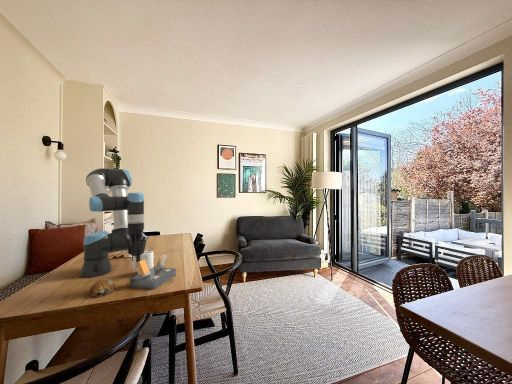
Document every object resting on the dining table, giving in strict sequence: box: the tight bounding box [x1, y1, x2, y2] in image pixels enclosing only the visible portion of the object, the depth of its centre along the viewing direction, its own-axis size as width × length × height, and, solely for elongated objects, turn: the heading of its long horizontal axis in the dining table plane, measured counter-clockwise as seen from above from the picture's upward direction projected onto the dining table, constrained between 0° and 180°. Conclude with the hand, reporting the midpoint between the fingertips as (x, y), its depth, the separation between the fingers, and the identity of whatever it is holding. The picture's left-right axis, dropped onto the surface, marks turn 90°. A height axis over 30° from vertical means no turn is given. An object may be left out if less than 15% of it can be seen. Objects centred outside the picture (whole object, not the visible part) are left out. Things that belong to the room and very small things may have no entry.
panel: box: [129, 253, 177, 290], centre depth 119 cm, size 14×18×12 cm
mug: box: [130, 250, 154, 275], centre depth 130 cm, size 12×8×12 cm
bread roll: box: [89, 278, 116, 298], centre depth 106 cm, size 10×10×8 cm
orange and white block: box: [137, 259, 151, 278], centre depth 115 cm, size 2×5×8 cm, turn 167°
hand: (136, 267), depth 116 cm, fingers closed
